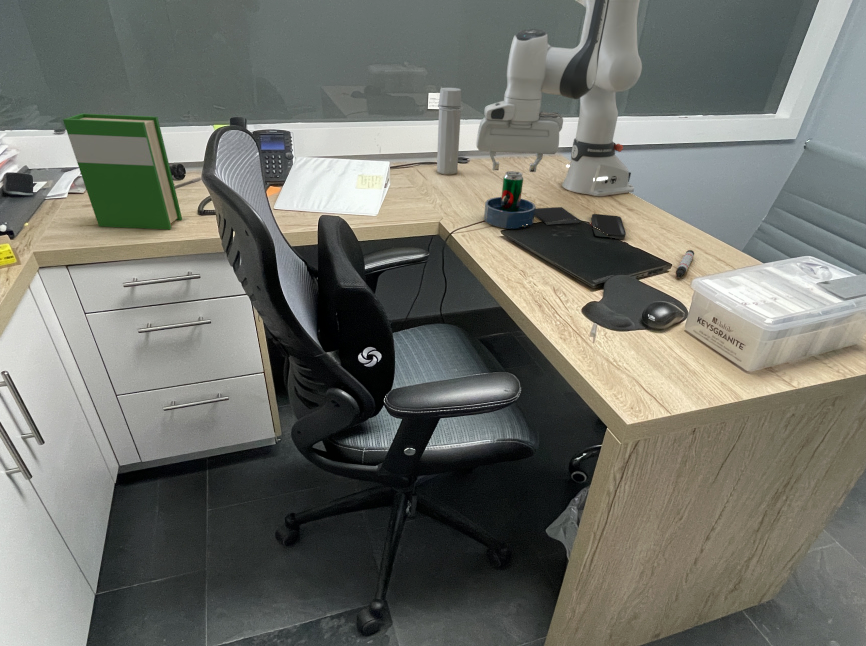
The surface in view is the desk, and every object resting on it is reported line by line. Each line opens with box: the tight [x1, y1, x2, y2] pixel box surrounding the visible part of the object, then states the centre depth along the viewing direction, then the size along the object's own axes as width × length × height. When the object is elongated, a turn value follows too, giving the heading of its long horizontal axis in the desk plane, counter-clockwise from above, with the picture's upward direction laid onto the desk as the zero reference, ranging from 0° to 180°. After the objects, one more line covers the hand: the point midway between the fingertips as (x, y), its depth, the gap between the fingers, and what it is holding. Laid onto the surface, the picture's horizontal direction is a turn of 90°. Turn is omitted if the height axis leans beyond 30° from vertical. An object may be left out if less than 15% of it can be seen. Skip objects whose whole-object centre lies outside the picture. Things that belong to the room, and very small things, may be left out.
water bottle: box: [436, 87, 464, 176], centre depth 174 cm, size 9×8×25 cm
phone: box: [590, 213, 627, 240], centre depth 142 cm, size 8×1×15 cm
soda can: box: [500, 170, 524, 212], centre depth 141 cm, size 5×5×12 cm
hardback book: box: [62, 112, 183, 230], centre depth 129 cm, size 18×7×24 cm, turn 88°
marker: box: [675, 249, 695, 279], centre depth 122 cm, size 15×2×2 cm, turn 150°
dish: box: [483, 196, 537, 230], centre depth 144 cm, size 13×13×4 cm
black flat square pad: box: [534, 206, 581, 224], centre depth 149 cm, size 10×12×1 cm
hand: (513, 170), depth 137 cm, fingers open, 8 cm apart
